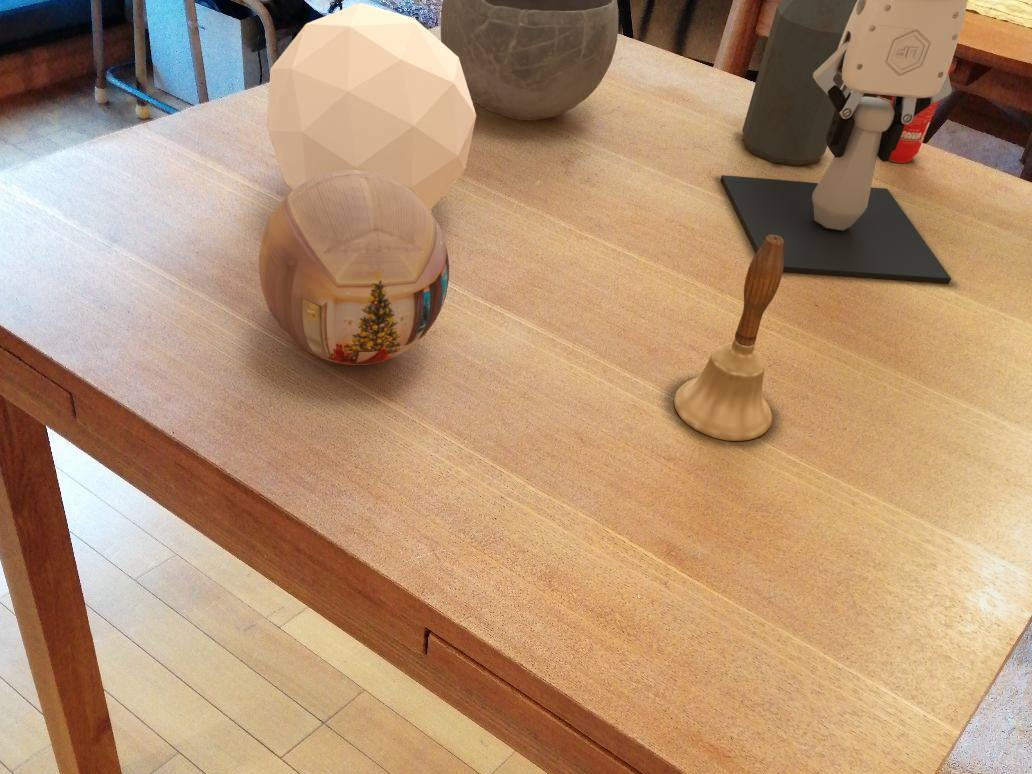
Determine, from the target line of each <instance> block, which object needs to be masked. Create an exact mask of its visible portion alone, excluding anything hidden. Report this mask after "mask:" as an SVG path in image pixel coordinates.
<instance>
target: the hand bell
mask: <svg viewBox="0 0 1032 774" xmlns="http://www.w3.org/2000/svg"><path fill="white" fill-rule="evenodd" d="M783 274H784V272H783V239H782V237H780V236H777V235H769V236H767V237H766V240H765V241H764V243H763V245H762V246H761V248H760V249H759V250H758V252H757V253H756V252H755V255H754V256H753V258H752V259H751V261H750V263H749V266H748V268H747V272H746V275H745V278H744V279H745V280H744V285H743V309H742V314H741V316H740V318H739V319H740V320H739V323H738V325H737V327H736V331H735V334H734V339H733V342H725V343H722V344H720V345H718V346H716V347H715V348H714V349H713V350H712V352H711V354H710V356H709V358H708V361H707V363H706V364H705V366H704V368H703V369H702V371H701V372H700V374H699V375H698V376H697V377H694V378H692V379H690V380H688V381H686V382H684V383H683V384H682V385H680V386H679V388H678V389H677V390H676V391H675V394H674V397H673V404H674V405H673V406H674V408H675V411H676V412H677V414H678V416H679V417H680V419H681V420H682V421H683V422H684V423H685V424H686V425H687V426H689V427H691V428H692V429H694V430H695V431H697V432H699V433H701V434H703V435H706V436H709V437H711V438H714V439H717V440H721V441H730V442H742V441H750V440H753V439H756V438H759V437H761V436H763V435H764V434H765V433H767V431H768V430H769V429H770V427H771V425H772V420H773V416H772V410H771V408H770V405H769V403H768V401H767V400H766V399H765V397H764V395H763V393H764V392H763V386H764V385H763V383H764V376H765V371H766V367H767V366H766V364H767V363H766V360H765V358H764V356H763V354H761V353H760V352H759V351H758V350H756V349H755V346H756V341H757V338H758V333H759V329H760V325H761V321H762V318H763V315H764V313H765V311H766V310H767V308H768V307H769V305H770V304H771V302H772V301H773V299H774V297H775V296H776V294H777V292H778V289H779V287H780V284H781V280H782V277H783Z"/></svg>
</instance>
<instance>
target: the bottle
mask: <svg viewBox="0 0 1032 774" xmlns="http://www.w3.org/2000/svg"><path fill="white" fill-rule="evenodd" d="M856 2H857V0H781V1H780V2H779V3H778V5H776V9H775V12H774V16H773V19H772V23H771V26H770V27H771V28H770V31H769V34H768V37H767V41H766V44H765V48H764V52H763V55H762V59H761V63H760V66H759V69H758V73H757V77H756V79H755V83H754V86H753V90H752V94H751V97H750V101H749V105H748V107H747V112H746V116H745V119H744V123H743V126H742V130H741V131H742V136H743V140H744V145H745V148H746V149H747V150H748V151H749V152H750V153H751V154H753V155H755V156H758V157H759V158H762V159H764V160H767V161H769V162H771V163H773V164H774V163H775V164H782V165H787V166H795V167H799V166H805V165H810V164H815V163H816V162H817V161H818V160H820V158H821V157H822V156H823V155H825V153H826V151H827V148H828V146H827V142H826V137H827V133H828V130H829V127H830V124H831V121H832V118H833V115H834V113H835V110H836V109H835V107H834V106H833V104H832V102H831V100H830V99H829V97H828V95H827V94H826V93H825V92H824V91H823V90H822V88H821V87H820V86H819V85H818V84H817V83H816V81H815V80H814V79H813V73H814V72H815V71H816V70H817V69H818V68H819V67H820V66H821V65H822V64H823V63H824V62H825V61H826V60H827V59H828V58H829V57H830V56H831V55H833V54H834V53H835V52H836V51H837V49H838V47H839V44H840V41H841V38H842V36H843V33H844V30H845V28H846V25H847V23H848V20H849V18H850V16H851V13H852V11H853V9H854V7H855V4H856ZM833 81H834V82H835V83H836V84H837V85H838V87H839V88H841V86H842V84H843V82H844V81H843V80H842V75H840V74H838V73H837V74H836V75H835V76H834V78H833Z"/></svg>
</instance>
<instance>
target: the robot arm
mask: <svg viewBox="0 0 1032 774" xmlns="http://www.w3.org/2000/svg"><path fill="white" fill-rule="evenodd" d="M968 1H969V0H857V2H856V4H855V7H854V9H853V11H852V13H851V16H850V18H849V20H848V23H847V25H846V28H845V30H844V33H843V36H842V38H841V41H840V44H839V47H838V49H837V51H836V52H835V53H834V54H833V55H831V56H830V57H829V58H828V59H827V60H826V61H825V62H824V63H823V64H822V65H821V66H820V67H819V68H818V69H817V70H816V71H815V72H814V73H813V79H814V80H815V81H816V83H817V84H818V85H819V86H820V87H821V88H822V90H823V91H824V92H825V93H826V94H827V95H828V97H829V99H830V100H831V102H832V104H833V106H834V107H835V109H836V110H835V113H834V115H833V118H832V121H831V124H830V127H829V130H828V133H827V137H826V142H827V148H828V150H829V151H830V153H831V154H832V155H833V157H836V158H841V157H842V156H843V154H844V152H845V149H846V146H847V143H848V140H849V138H850V135H851V132H852V129H853V126H854V123H855V121H854V119H853V118H852V115H853V112H854V110H855V109H856V107H857V105H858V103H859V102H860V100H861V98H862V97H864V95H865V94H870V95H871V94H872V95H883V96H891V97H893V96H894V100H893V110H894V112H895V113H894V118H893V121H892V123H891V125H890V127H889V128H888V129H887V130H886V131H882V135H881V140H880V145H879V150H878V155H877V158H878V159H879V160H880V161H881V162H886V163H888V162H890V161H889V158H890V156H891V153H892V151H894V150H895V149H896V147H897V144H898V142H899V139H900V137H901V134H902V131H903V129H904V126H905V124H909V123H910V122H911V121H912V120H913V117H914V116H915V115H917V114H918V113H920V112H921V111H923V110H924V109H926V108H927V107H928V106H929V105H930V104H931V103H935V102H937V101H938V102H939V101H941V100H943V99H945V98H947V97H948V96H950V95H951V94H952V91H953V88H952V84H951V80H950V74H949V75H948V71H949V68H950V65H951V66H952V63H953V59H954V55H955V52H956V50H957V45H958V43H959V40H960V35H961V32H962V29H963V25H964V20H965V15H966V11H967V6H968ZM951 62H952V63H951ZM837 73H838V74H840V75H842V80H843V81H844V82H843V84H842V86H841V88H839V87H838V85H837V84H836V83H835V82H834V81H833V78H834V76H835V75H836V74H837Z"/></svg>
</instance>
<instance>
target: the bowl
mask: <svg viewBox="0 0 1032 774" xmlns="http://www.w3.org/2000/svg"><path fill="white" fill-rule="evenodd" d="M440 13H441V14H440V41H441V42H442V43H443V44H444V45H445V46H446V47H447V48H449V49H450V50H451V51H452V52H453V53H454V54H455V55H456V56H458V57H459V61H460V64H461V67H462V70H463V74H464V77H465V80H466V84H467V87H468V90H469V93H470V97H471V100H472V102H474V103H476V104H477V105H478V106H479V107H482V108H483V109H485V110H487V111H490V112H492V113H494V114H496V115H500V116H502V117H505V118H508V119H512V120H523V121H524V120H525V121H534V120H535V121H538V120H544V119H549V118H554V117H557V116H560V115H562V114H565V113H566V112H568V111H570V110H573V109H574V108H575V107H577V106H578V105H580V104H581V103H582V102H584V101H585V100H586V99H588V97H589V96H591V95H592V94H593V93H594V91H595V90H596V89H597V88H598V87H599V86H600V84H601V82H602V81H603V80H604V78H605V76H606V74H607V72H608V70H609V68H610V66H611V64H612V61H613V59H614V54H615V51H616V47H617V42H618V34H619V7H618V0H442V4H441V12H440Z"/></svg>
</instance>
